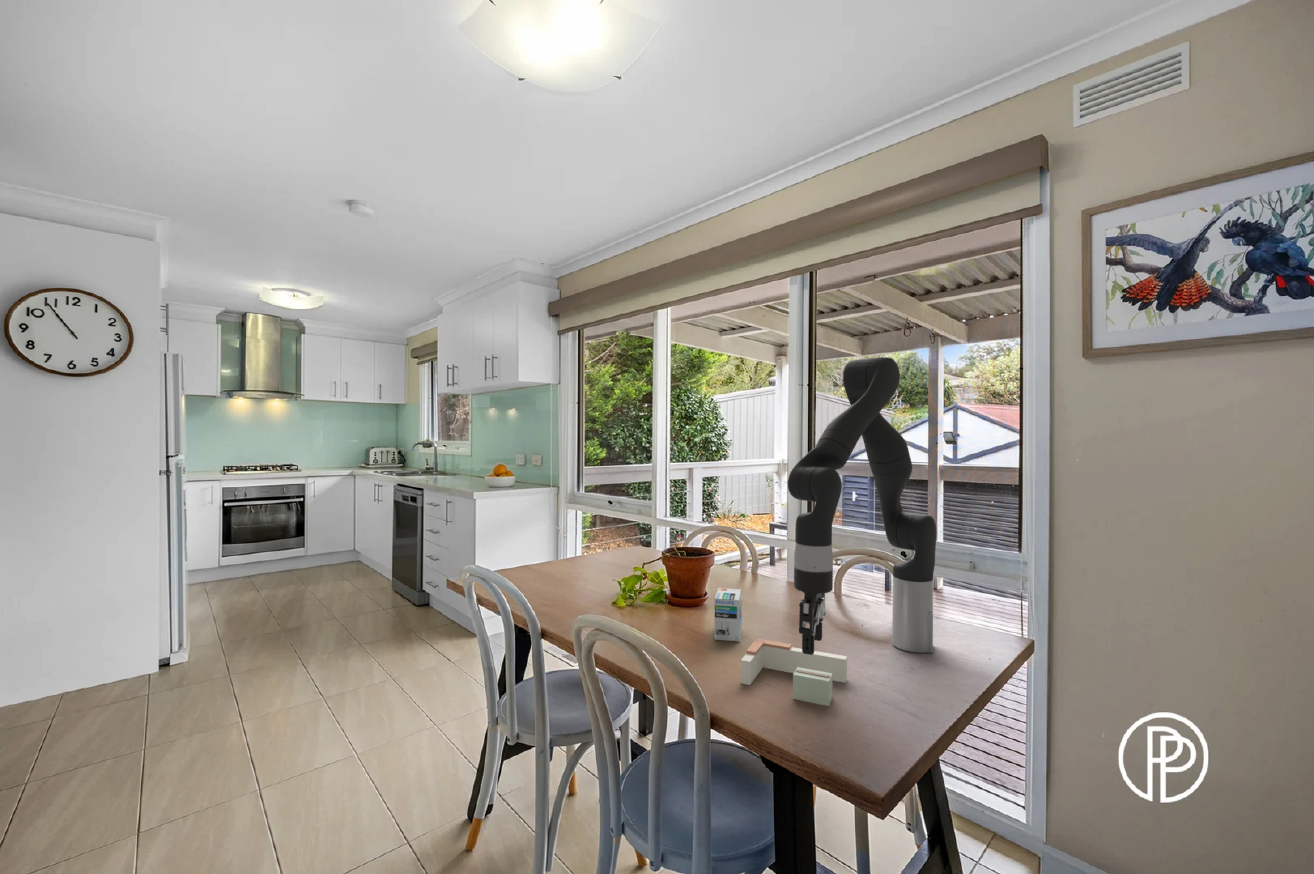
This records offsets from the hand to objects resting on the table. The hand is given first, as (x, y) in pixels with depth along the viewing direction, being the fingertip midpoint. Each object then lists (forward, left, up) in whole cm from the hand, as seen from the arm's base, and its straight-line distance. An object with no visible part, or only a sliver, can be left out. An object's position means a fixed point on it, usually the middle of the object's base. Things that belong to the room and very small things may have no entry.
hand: (812, 646), depth 115 cm
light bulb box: (+27, -27, -11) cm, 40 cm away
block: (0, 0, -11) cm, 11 cm away
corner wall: (+5, -6, -10) cm, 13 cm away
